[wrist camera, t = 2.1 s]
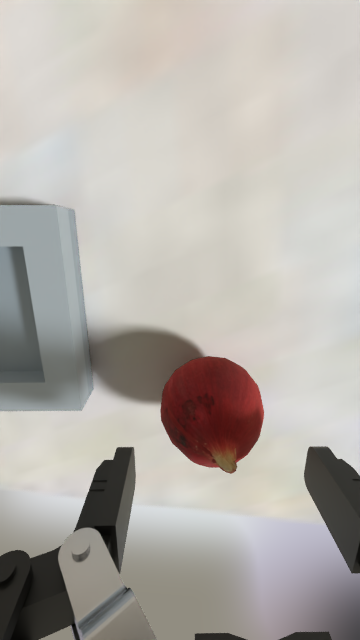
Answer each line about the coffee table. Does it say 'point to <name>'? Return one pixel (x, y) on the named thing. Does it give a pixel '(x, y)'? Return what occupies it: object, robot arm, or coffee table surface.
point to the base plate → (42, 311)
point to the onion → (212, 412)
